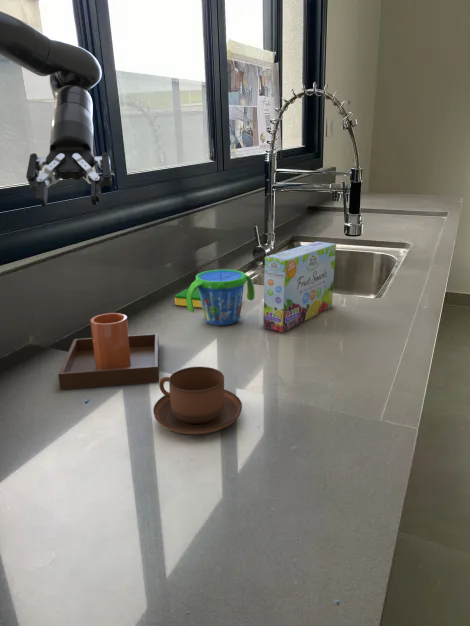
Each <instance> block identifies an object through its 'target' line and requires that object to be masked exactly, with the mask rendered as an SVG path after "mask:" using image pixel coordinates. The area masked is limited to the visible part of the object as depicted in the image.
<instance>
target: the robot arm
mask: <svg viewBox="0 0 470 626" xmlns="http://www.w3.org/2000/svg"><path fill="white" fill-rule="evenodd" d="M0 56H1V57H3V58H5V59H6V60H9V61H10V62H12V63H14V64H16V65H17V66H20V67H21V68H24V69H25V70H27V71H29V72H30V73H33V74H34V75H36V76H39V77H48V76H49V77H48V84H49V87H50V89H51V94H52V96H53V99H54V107H53V116H52V119H51V126H50V140H49V152H48V154H47V155H46V156H45V157H43V156H38V154H37V153H30V155H29V158H28V165H27V168H26V176H25V178H26V180H27V183H28V185H29V187H30V189H36V192H35V197H36V199H37V202H38V204H40V205H41V207H47V206H48V195H49V190H48V189H49V188H50V187H51V186H52V185H56V184H57V183H58V182H60V180H62V181H68V180H81V179H84V180H85V182H87V183H88V184H89V185H90V186H91V187H90V200H91V204H92V206H97V205H98V203H100V202H101V200H102V188H103V187H107V188H108V187H109V188H110V187H112V185H113V182H112V169H111V160H110V156H109V153H108V152H102V153H101V155H99V156H94V136H95V133H94V123H93V99H92V97H91V95H90V93H89V92H88V91H90V90H91V89H93V87H95V86H96V85H97V84H98V83H99V82H100V80H101V79H102V75H103V74H102V73H103V72H102V68H101V65H100V63H99V61H98V59H97V58H96V57H95V56H94V55H93V54H92V53H91V52H90V51H88V50H86V49H85V48H83V47H81V46H78V45H75V44H73V43H72V44H71V43H69V42H68V43H67V42H64V41H62V40H58V39H54V38H50V37H48V36H47V35H46V34H44V33H43V32H41V31H39V30H38V29H36V28H35V27H33V26H31V25H30V24H28V23H27V22H24V21H23V20H21V19H19V18H17V17H15V16H13V15H10V14H8V13H6V12H3V11H1V10H0ZM96 165H97V166H98V167H99V168H100V169H101V170H102V175H99V174H98V173H96V172H95V170H94V169H93V168H94V167H95V166H96ZM42 171H43V172H42ZM40 172H42V173H41V174H40Z"/></svg>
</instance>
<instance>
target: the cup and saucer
mask: <svg viewBox="0 0 470 626" xmlns="http://www.w3.org/2000/svg"><path fill="white" fill-rule="evenodd" d="M166 382H168V386H169V391H167V390H166V389H165V387H164V386H165V385H164V384H165V383H166ZM158 386H159V387H158V388H159V390H160V392H161V393H162V395H163V396H161V397H160V398H159V399H158V400H157V401H156V402H155V403H154V406H153V410H152V411H153V416H154V419H155V420H156V421H157V423H158V424H159V425H160V426H162V427H164V429H167V430H169V431H170V432H174V433H178V434H183V435H206V434H211V433H215V432H219V431H220V430H223V429H225V428H227V427H229V426H230V425H232V424H233V423H234V422H236V420H237V419H238V418H239V417H240V416H241V413H242V409H243V402H242V401H241V399H240V397H239V396H237V395H236V393H233V392H232V391H229V390H228V389H225V375H224V373H222V371H220V370H219V369H217V368H214V367H209V366H190V367H185V368H181V369H179V370H176V371H175V372H173V373H172V374H171V375H170V376H163V377H162V378H161V379H159V382H158Z"/></svg>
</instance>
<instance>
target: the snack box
mask: <svg viewBox="0 0 470 626" xmlns="http://www.w3.org/2000/svg"><path fill="white" fill-rule="evenodd" d="M336 250H337V243H333V242H332V243H331V242H326V241H325V242H324V241H314V242H310V243H307V244H304V245H300V246H296V247H293V248H291V249H287V250H284V251H280V252H277V253H273V254H270V255H267V256H264V279H263V282H264V283H263V318H262V319H263V320H262V321H263V323H262V324H263V325H262V327H263V328H266V329H269V330H271V331H276V332H279V333H285V332H287V331H289V330H290V329H292V328H294V327H297V326H298V325H300V324H302V323H304V322H306V321H308V320H310V319H312V318H314V317H316V316H318V315H320V314H321V313H323V312H326V311H327V310H329V309H331V308H332V307H333V295H334V281H335V280H334V279H335V267H336V253H337V252H336Z"/></svg>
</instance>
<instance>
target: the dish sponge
mask: <svg viewBox="0 0 470 626" xmlns="http://www.w3.org/2000/svg"><path fill="white" fill-rule="evenodd" d="M188 290H189V287H188V288H186V289H184V290H182V291H181V292H179V293H177V294H175V295H174V304H175V306H181V307H187V302H186V301H187V293H188ZM192 302H193V308H201V309H203V308H202V303H201V298H200V292H199V289H198V288H196V289H195V291H194V292H193V294H192Z"/></svg>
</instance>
